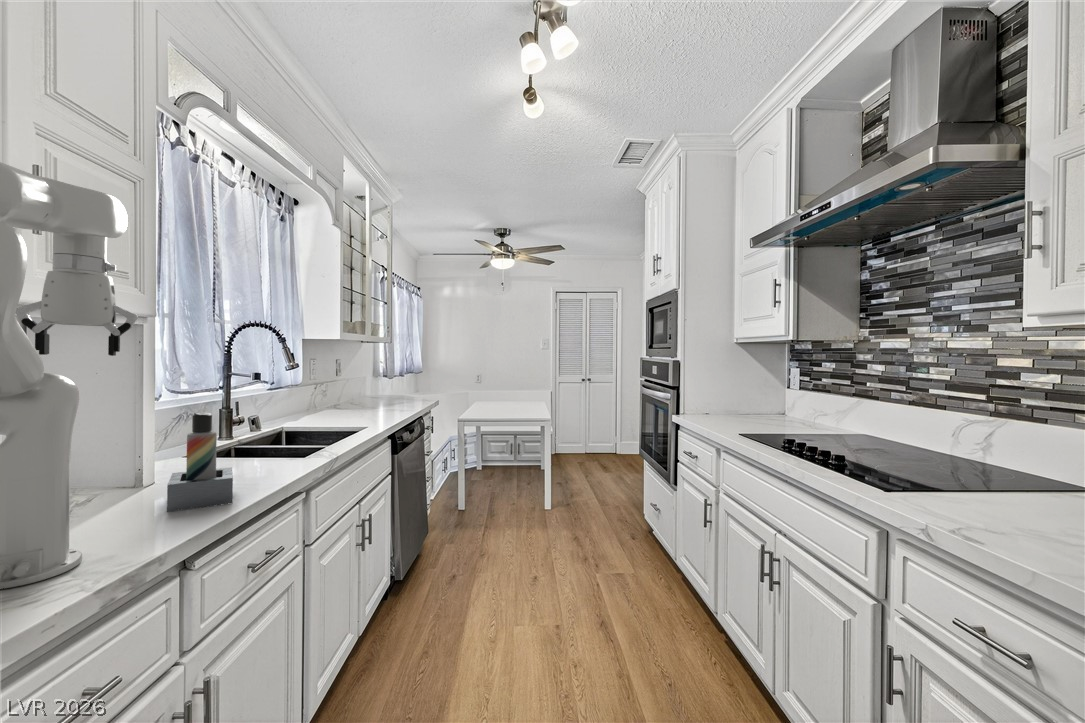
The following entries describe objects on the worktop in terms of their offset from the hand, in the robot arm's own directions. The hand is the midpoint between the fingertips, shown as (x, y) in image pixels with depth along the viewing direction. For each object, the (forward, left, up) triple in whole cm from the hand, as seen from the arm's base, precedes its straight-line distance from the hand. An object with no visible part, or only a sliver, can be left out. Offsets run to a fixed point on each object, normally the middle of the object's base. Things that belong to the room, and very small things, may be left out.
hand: (79, 355), depth 92 cm
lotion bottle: (+10, -19, -34) cm, 40 cm away
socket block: (+10, -19, -34) cm, 41 cm away
